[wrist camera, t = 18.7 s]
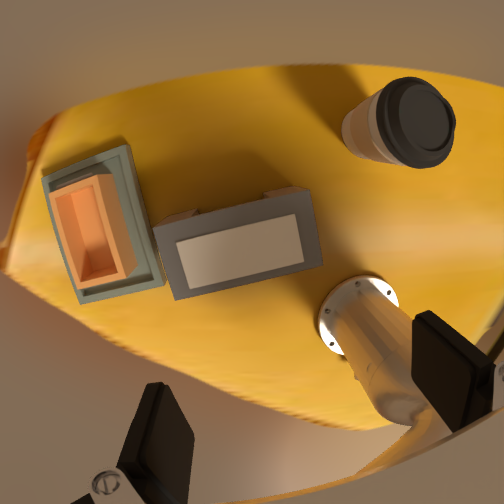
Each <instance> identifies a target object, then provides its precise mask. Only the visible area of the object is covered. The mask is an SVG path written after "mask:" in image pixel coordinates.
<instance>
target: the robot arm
mask: <svg viewBox="0 0 504 504" xmlns="http://www.w3.org/2000/svg"><path fill="white" fill-rule="evenodd" d="M326 309H327V310H326ZM318 330H319V334H320V336H321V338H322V340H323V342H324V343H325V345H326V346H327V347H328V348H329V349H331V350H332V351H334V352H336V353H338V354H342V355H344V356H345V357H346V359H347V361H348V362H349V364H350V366H351V368H352V369H353V371H354V378H355V379H356V380H359V381H360V383H361V385H362V386H363V388H364V390H365V392H366V393H367V395H368V397H369V399H370V400H371V402H372V404H373V406H374V407H375V409H376V410H377V412H378V413H379V414H380V415H381V416H382V417H384V418H385V419H387V420H389V421H391V422H393V423H396V424H400V425H405V426H412V427H411V428H410V429H409V430H408V431H407V432H406V433H405V434H404V435H403V436H401V437H400V439H399V440H398V441H397V442H395V443H394V444H393V445H392V446H391V447H390V448H388V449H387V450H386V451H385V452H383V453H382V454H381V455H379V456H378V457H377V458H376V459H374V460H373V461H372V462H370V463H369V464H368V465H366V467H364V468H363V469H361V470H360V471H358V472H357V473H356V474H355V475H353V476H350V477H347V478H344V479H340V480H337V481H334V482H330V483H327V484H323V485H319V486H315V487H311V488H307V489H303V490H299V491H294V492H289V493H285V494H280V495H274V496H269V497H264V498H257V499H250V500H243V501H235V502H226V503H215V504H504V361H502V362H501V363H499V364H498V365H497V366H496V365H495V364H494V363H493V361H492V360H491V359H490V358H489V357H487V356H486V355H485V354H484V353H483V352H481V351H480V350H479V349H478V348H477V347H476V346H474V345H473V344H472V343H471V342H469V341H468V340H467V339H466V338H465V337H463V336H462V335H461V334H460V333H458V332H457V331H456V330H455V329H453V328H452V327H451V326H450V325H448V324H447V323H446V322H445V321H443V320H442V319H441V318H440V317H438V316H437V315H436V314H434V313H433V312H432V311H430V310H427V311H425V312H422V313H419V314H417V315H416V316H415V319H414V320H412V319H411V318H410V317H409V316H408V315H407V314H406V313H404V312H403V311H402V310H401V309H400V308H399V307H398V299H397V296H396V294H395V292H394V290H393V289H392V287H391V286H390V285H389V284H388V283H387V282H385V281H384V280H382V279H380V278H378V277H376V276H370V275H360V276H356V277H352V278H350V279H347V280H345V281H344V282H342V283H340V284H339V285H337V286H336V287H335V288H334V289H333V290H332V291H331V292H330V293H329V294H328V296H327V297H326V298H325V300H324V302H323V304H322V305H321V308H320V311H319V315H318ZM194 441H195V439H194V433H193V431H192V429H191V427H190V425H189V424H188V422H187V420H186V418H185V416H184V414H183V413H182V411H181V409H180V407H179V405H178V403H177V401H176V399H175V397H174V395H173V393H172V391H171V389H170V387H169V386H168V385H164V383H163V382H156V383H149V384H147V385H146V387H145V390H144V393H143V395H142V398H141V401H140V403H139V406H138V409H137V411H136V414H135V417H134V419H133V421H132V423H131V426H130V429H129V431H128V434H127V437H126V439H125V442H124V445H123V448H122V451H121V454H120V457H119V460H118V463H117V466H116V468H113V467H107V468H103V469H101V470H98V471H97V472H96V473H94V474H93V476H91V478H90V480H89V482H88V490H89V493H88V494H87V495H85V496H83V497H81V498H80V499H78V500H76V501H75V502H73V503H71V504H187V502H188V492H189V484H190V475H191V466H192V457H193V449H194Z"/></svg>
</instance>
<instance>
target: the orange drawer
mask: <svg viewBox="0 0 504 504" xmlns="http://www.w3.org/2000/svg"><path fill="white" fill-rule="evenodd" d="M56 189H57V190H56V191H54V192H51V193H49V198H50V203H51V207H52V211H53V214H54V218H55V222H56V225H57V229H58V232H59V236H60V239H61V242H62V246H63V249H64V252H65V255H66V258H67V261H68V264H69V267H70V270H71V273H72V276H73V279H74V281H75V284H76V287H77V289H78V290H79V289H83V288H87V287H91V286H95V285H100V284H104V283H108V282H112V281H116V280H120V279H125V278H127V277H128V276H129V275H130V273H131V272H132V271H133V270H134V269H135V268H136V267H137V266H138V263H137V260H136V257H135V254H134V250H133V247H132V244H131V240H130V237H129V234H128V230H127V227H126V223H125V220H124V216H123V212H122V208H121V205H120V201H119V197H118V193H117V189H116V185H115V181H114V177H113V174H100V175H95V176H93V173H89V174H86V175H83V176H81V177H78V178H76V179H73V180H71V181H68V182H66V183H63V184H61V185H58V186H57V187H56Z"/></svg>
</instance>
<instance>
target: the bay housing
mask: <svg viewBox="0 0 504 504" xmlns="http://www.w3.org/2000/svg"><path fill="white" fill-rule="evenodd" d="M263 196H264V199H260V200H256V201H252V202H248V203H243V204H239V205H235V206H231V207H227V208H223V209H219V210H215V211H211V212H207V213H203V214H199V212H198V208H197V209H193V210H190V211H186V212H182V213H178V214H174V215H171V216H167V217H166V218H165V219H163V220H162V221H161V222H160V223H158V224H157V225H156V226H154V227H153V228H152V229H153V232H154V236H155V239H156V242H157V246H158V249H159V252H160V256H161V259H162V262H163V265H164V269H165V272H166V275H167V278H168V281H169V284H170V287H171V290H172V293H173V296H174V299H175V301H176V300H181V299H185V298H190V297H194V296H198V295H203V294H207V293H212V292H216V291H220V290H225V289H229V288H233V287H237V286H242V285H246V284H250V283H254V282H258V281H262V280H266V279H271V278H275V277H279V276H283V275H287V274H291V273H295V272H299V271H303V270H307V269H311V268H314V267H318V266H322V265H323V260H322V254H321V248H320V242H319V237H318V231H317V226H316V220H315V215H314V210H313V205H312V200H311V195H310V190H309V189H305V188H301V187H297V186H290V187H285V188H281V189H276V190H272V191H267V192H263Z"/></svg>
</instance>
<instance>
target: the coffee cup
mask: <svg viewBox="0 0 504 504" xmlns="http://www.w3.org/2000/svg"><path fill="white" fill-rule="evenodd" d="M455 126H456V118H455V115H454V112H453V109H452V107H451V105H450V104H449V102H448V101H447V100H446V99H445V98H443V96H442V95H441V94H440V93H439V92H438V90H437V89H436V88H435V87H433V86H432V85H431V84H429V83H428V82H426V81H424V80H422V79H420V78H416V77H404V78H399V79H396V80H393V81H392V82H390V83H389V84H387V85H386V86H385V87H384V88H383V89H381V90H379V91H378V92H376V93H375V94H373V95H372V96H370V97H369V98H367V99H366V100H364V101H363V102H361V103H360V104H359V105H358V106H357V107H356V108H355V109H353V110H352V111H350V112H349V113H348V114H347V115H346V116H345V118H344V120H343V122H342V128H341V132H342V138H343V141H344V143H345V145H346V147H347V148H348V149H349V150H350V151H351V152H352V153H353V154H354V155H356V156H358V157H360V158H364V159H371V160H373V161H377V162H383V163H389V164H395V165H401V166H409V167H412V168H418V169H423V168H431V167H435V166H437V165H439V164H441V163H442V162H443V161H444V160H445V159H446V158H447V156H448V155H449V153H450V151H451V148H452V145H453V141H454V130H455Z"/></svg>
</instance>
